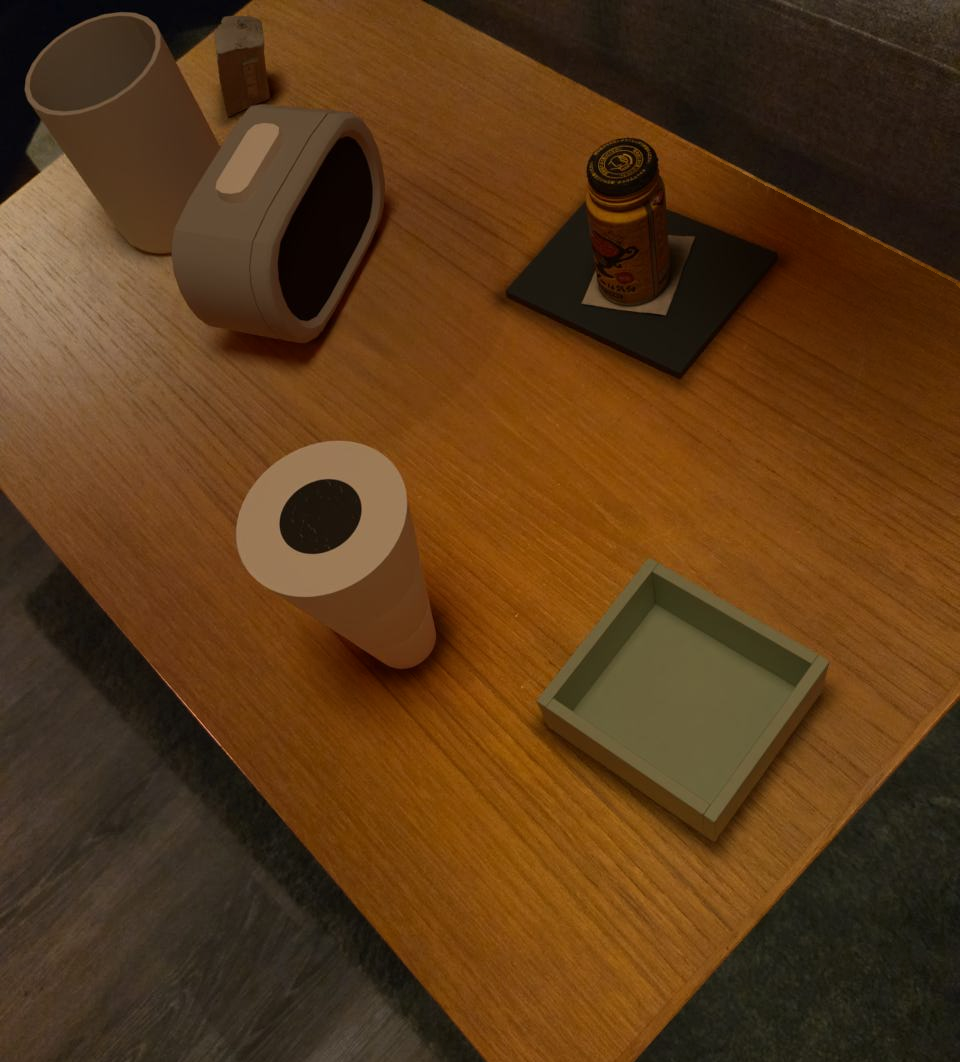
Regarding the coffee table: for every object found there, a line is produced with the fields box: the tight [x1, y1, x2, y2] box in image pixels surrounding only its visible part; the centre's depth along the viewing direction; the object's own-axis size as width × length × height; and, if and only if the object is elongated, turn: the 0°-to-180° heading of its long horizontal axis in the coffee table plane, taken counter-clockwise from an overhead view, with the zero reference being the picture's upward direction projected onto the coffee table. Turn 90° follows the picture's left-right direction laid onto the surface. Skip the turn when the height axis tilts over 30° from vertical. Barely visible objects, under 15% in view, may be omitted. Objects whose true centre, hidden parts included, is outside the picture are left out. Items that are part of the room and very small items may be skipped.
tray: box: [536, 557, 831, 843], centre depth 65 cm, size 14×13×5 cm
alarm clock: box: [171, 103, 386, 344], centre depth 86 cm, size 21×10×13 cm, turn 158°
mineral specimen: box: [213, 15, 271, 117], centre depth 101 cm, size 7×9×8 cm
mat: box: [505, 200, 779, 380], centre depth 83 cm, size 18×14×1 cm
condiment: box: [582, 137, 695, 315], centre depth 77 cm, size 7×8×12 cm
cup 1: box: [24, 11, 221, 255], centre depth 94 cm, size 13×18×16 cm
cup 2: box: [235, 440, 437, 670], centre depth 66 cm, size 11×11×18 cm
